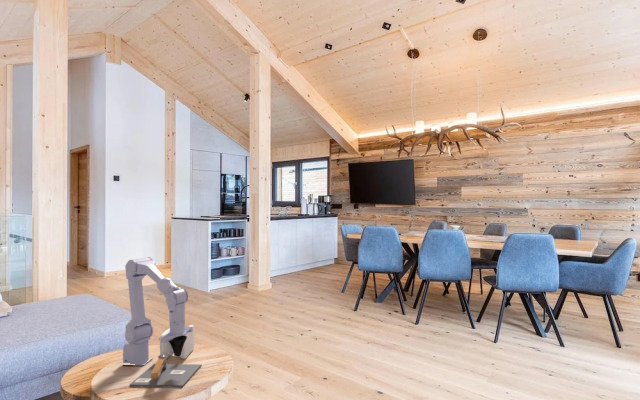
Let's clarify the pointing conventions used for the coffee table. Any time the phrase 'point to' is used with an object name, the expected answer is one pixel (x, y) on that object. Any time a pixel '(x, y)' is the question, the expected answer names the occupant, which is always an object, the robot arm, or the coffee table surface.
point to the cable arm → (159, 366)
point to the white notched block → (187, 347)
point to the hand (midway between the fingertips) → (177, 355)
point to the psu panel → (167, 376)
